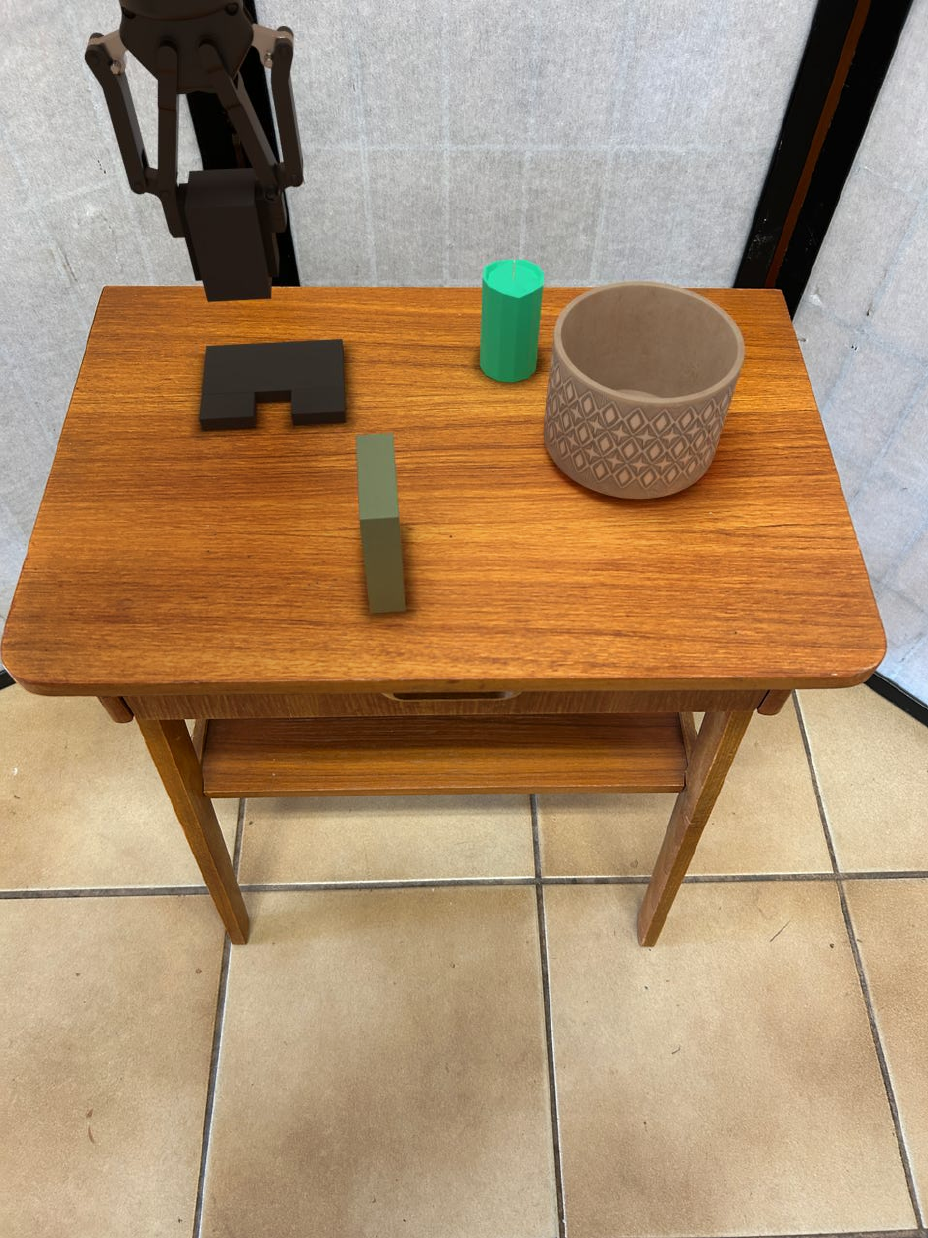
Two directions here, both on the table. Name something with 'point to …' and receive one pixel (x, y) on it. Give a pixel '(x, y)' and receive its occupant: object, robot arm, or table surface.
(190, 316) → the table surface
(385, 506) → the stand
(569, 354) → the planter
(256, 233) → the black rectangular block
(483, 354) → the candle
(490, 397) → the table surface
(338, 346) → the pad
